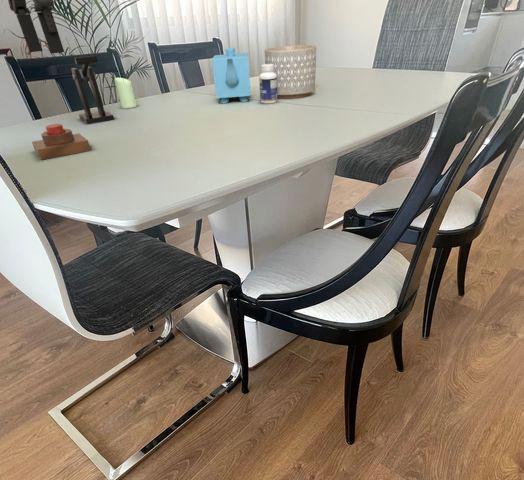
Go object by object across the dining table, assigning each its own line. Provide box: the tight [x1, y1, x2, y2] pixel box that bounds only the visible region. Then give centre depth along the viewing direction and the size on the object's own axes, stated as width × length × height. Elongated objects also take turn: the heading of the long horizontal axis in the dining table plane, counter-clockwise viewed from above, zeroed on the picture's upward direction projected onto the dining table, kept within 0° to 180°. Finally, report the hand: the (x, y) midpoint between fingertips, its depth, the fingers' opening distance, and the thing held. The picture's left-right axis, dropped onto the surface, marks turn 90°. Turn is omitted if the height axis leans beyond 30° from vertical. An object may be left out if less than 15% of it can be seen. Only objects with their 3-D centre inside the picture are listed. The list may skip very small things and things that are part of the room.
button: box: [45, 123, 65, 135], centre depth 88 cm, size 4×4×2 cm
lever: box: [74, 55, 99, 83], centre depth 106 cm, size 12×6×2 cm, turn 32°
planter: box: [264, 44, 317, 100], centre depth 126 cm, size 16×16×13 cm
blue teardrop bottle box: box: [211, 47, 252, 104], centre depth 124 cm, size 22×11×14 cm, turn 2°
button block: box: [31, 128, 92, 161], centre depth 90 cm, size 11×9×4 cm
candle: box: [114, 77, 137, 109], centre depth 128 cm, size 5×5×8 cm
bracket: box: [70, 66, 115, 125], centre depth 113 cm, size 10×8×13 cm
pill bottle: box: [258, 63, 278, 105], centre depth 120 cm, size 5×5×10 cm
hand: (46, 52), depth 85 cm, fingers open, 13 cm apart
